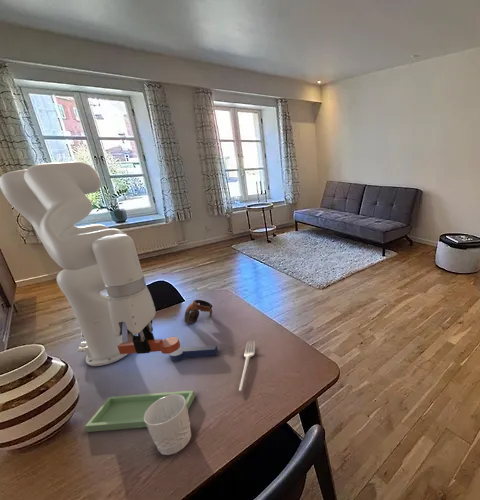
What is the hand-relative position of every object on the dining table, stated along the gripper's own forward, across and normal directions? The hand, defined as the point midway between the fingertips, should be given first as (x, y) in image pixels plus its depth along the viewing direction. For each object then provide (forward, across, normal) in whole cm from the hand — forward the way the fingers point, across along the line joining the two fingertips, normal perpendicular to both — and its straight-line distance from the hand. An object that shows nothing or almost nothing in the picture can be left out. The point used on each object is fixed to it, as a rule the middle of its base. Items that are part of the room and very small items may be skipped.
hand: (146, 349), depth 76 cm
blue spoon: (+14, -14, +3) cm, 20 cm away
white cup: (+14, +16, +11) cm, 24 cm away
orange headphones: (+14, -35, -3) cm, 38 cm away
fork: (+14, -7, +22) cm, 27 cm away
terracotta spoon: (0, 0, +2) cm, 2 cm away
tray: (+14, +7, 0) cm, 16 cm away
